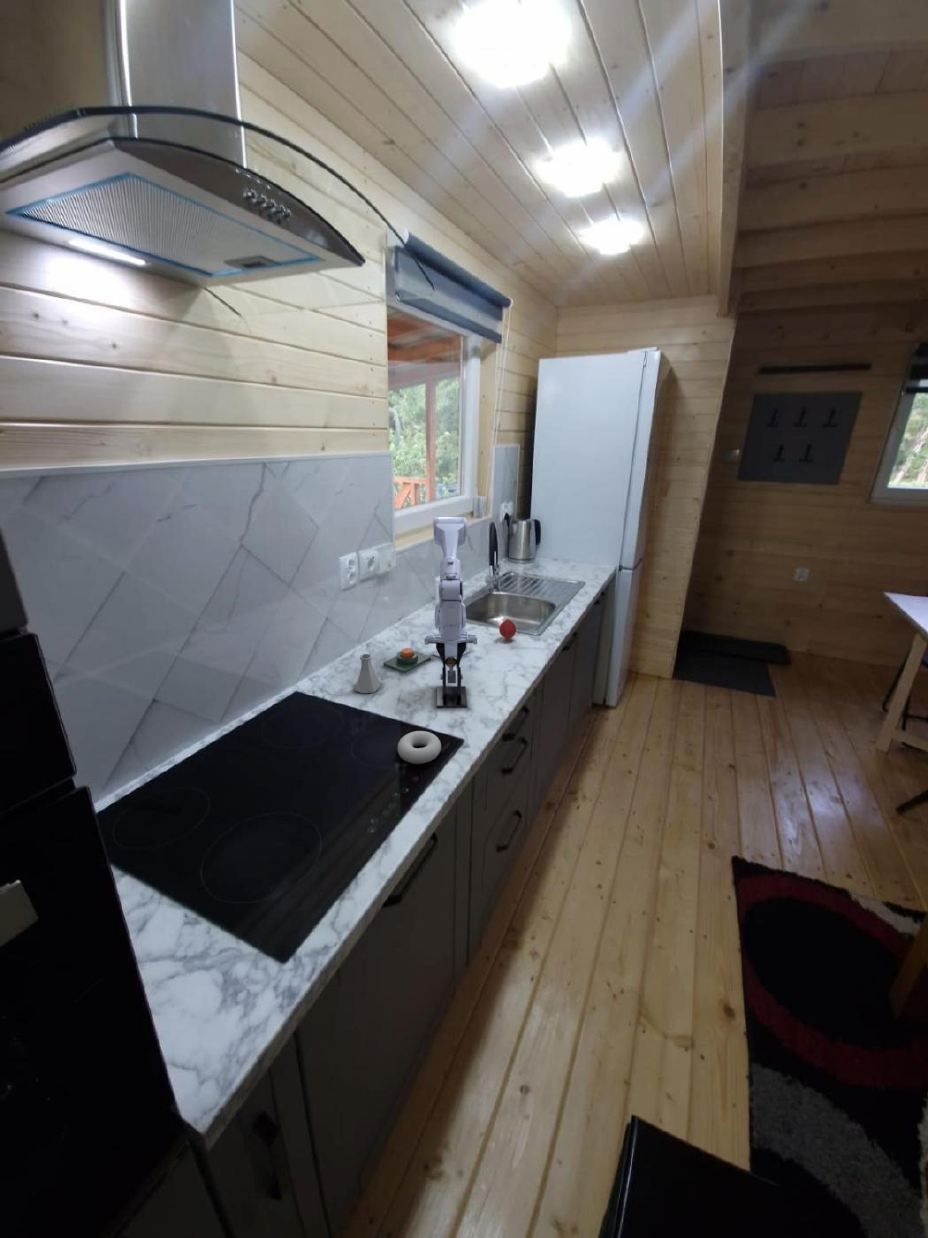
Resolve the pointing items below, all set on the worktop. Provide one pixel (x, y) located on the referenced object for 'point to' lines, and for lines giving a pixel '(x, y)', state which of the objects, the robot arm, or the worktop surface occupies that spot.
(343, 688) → the worktop surface
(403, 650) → the button
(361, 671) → the flask
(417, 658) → the control block
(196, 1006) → the worktop surface
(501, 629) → the onion
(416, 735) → the donut
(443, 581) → the robot arm
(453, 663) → the lever
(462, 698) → the bracket
